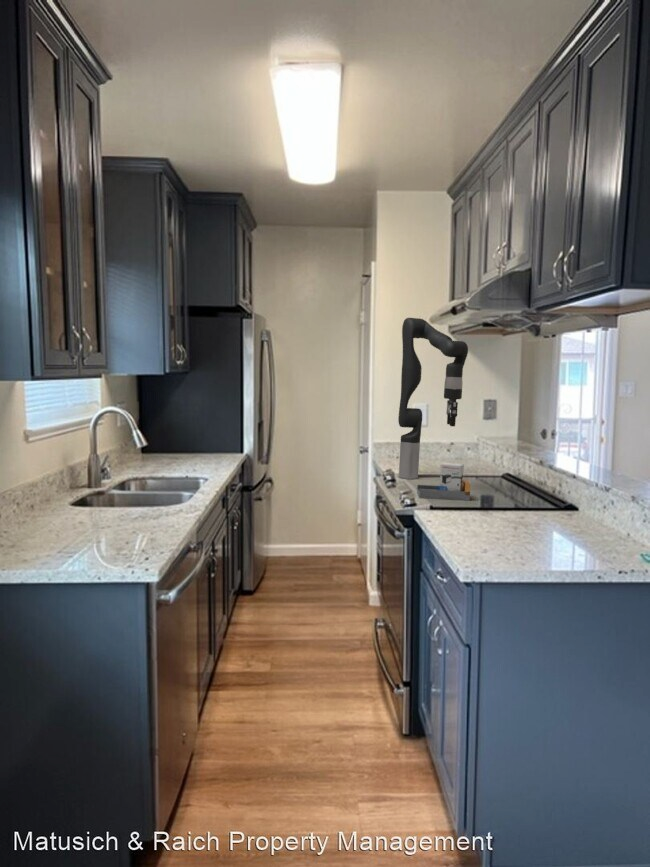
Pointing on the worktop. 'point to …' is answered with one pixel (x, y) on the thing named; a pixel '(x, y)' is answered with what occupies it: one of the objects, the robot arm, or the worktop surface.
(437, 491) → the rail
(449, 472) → the ink box
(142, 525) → the worktop surface
